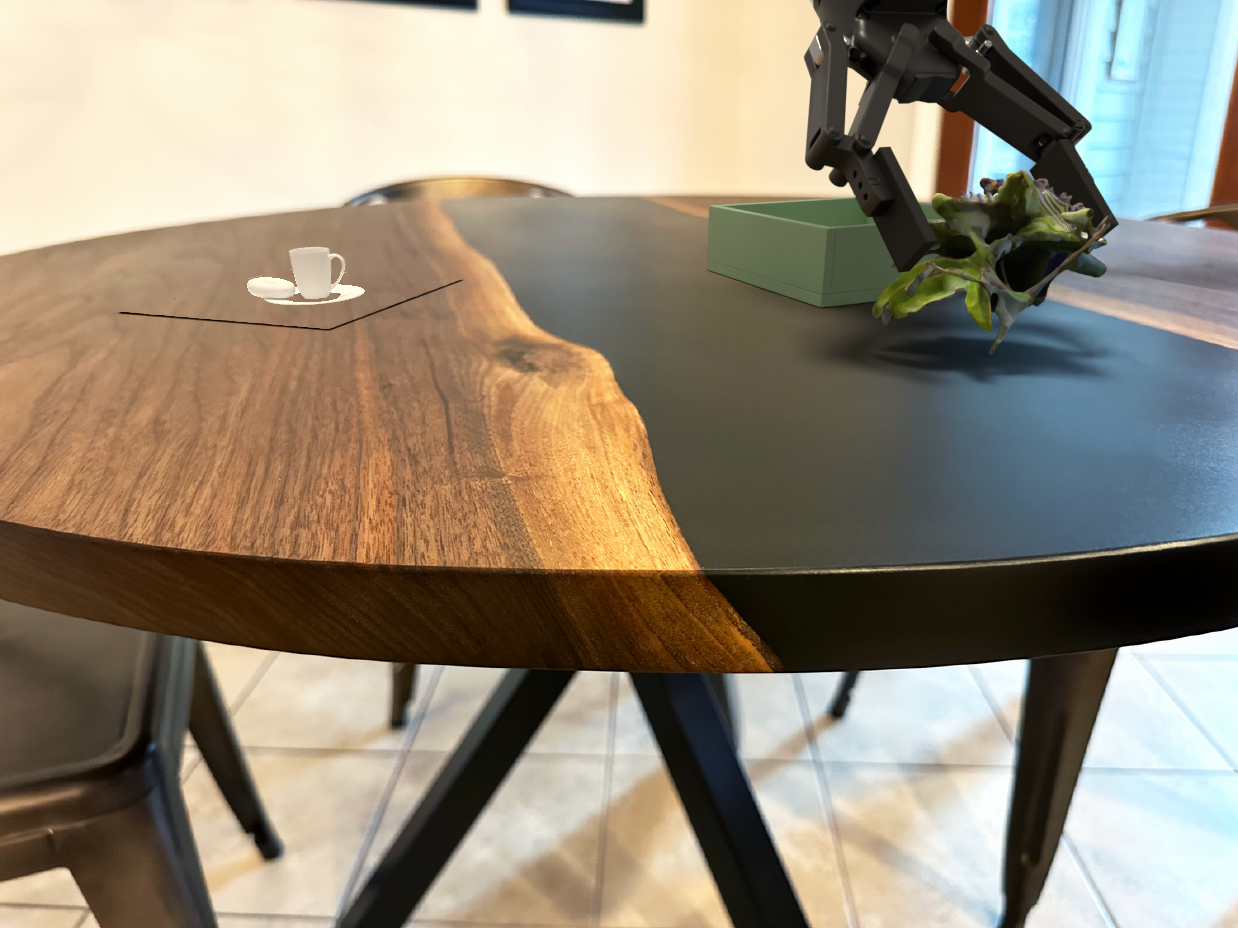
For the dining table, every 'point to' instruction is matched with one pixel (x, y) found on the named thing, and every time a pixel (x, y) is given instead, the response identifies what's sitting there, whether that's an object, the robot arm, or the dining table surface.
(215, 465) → the dining table surface
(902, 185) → the robot arm
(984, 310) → the green leafy lump
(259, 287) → the teacup and saucer
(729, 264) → the green open box
